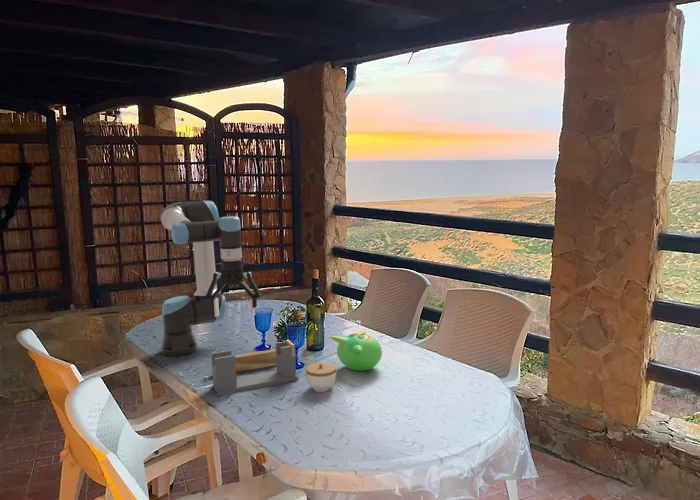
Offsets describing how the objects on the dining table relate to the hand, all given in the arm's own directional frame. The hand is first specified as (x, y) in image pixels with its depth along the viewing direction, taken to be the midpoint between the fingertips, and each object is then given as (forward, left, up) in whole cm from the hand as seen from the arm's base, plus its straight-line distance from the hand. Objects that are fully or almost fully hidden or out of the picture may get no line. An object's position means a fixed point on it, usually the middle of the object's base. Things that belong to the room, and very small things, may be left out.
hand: (234, 316), depth 203 cm
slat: (-9, +6, -25) cm, 27 cm away
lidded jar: (+23, +25, -25) cm, 42 cm away
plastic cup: (-23, +27, -25) cm, 43 cm away
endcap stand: (+7, +6, -25) cm, 26 cm away
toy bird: (+12, +45, -25) cm, 52 cm away
